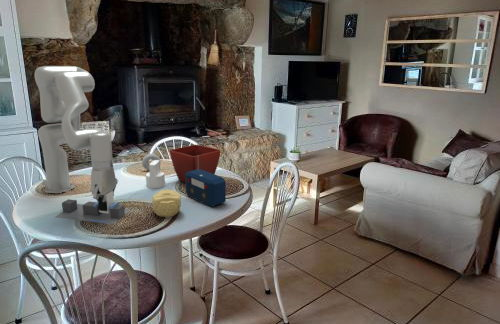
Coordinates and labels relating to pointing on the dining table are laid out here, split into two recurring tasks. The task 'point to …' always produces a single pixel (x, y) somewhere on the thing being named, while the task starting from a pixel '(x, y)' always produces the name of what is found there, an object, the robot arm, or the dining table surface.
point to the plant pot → (194, 159)
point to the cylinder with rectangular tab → (155, 176)
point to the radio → (205, 187)
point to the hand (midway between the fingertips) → (106, 207)
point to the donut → (146, 160)
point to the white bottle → (108, 201)
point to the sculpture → (166, 203)
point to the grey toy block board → (91, 212)
